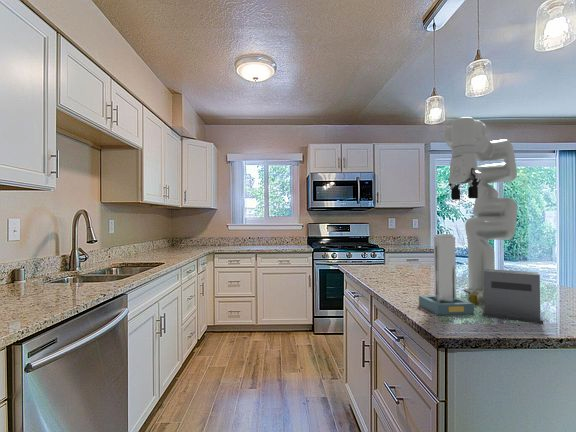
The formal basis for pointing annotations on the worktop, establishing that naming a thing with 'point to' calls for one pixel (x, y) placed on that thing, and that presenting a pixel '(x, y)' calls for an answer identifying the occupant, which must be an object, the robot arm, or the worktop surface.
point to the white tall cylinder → (444, 268)
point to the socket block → (446, 306)
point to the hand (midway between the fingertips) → (464, 199)
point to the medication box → (476, 296)
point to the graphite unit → (512, 295)
